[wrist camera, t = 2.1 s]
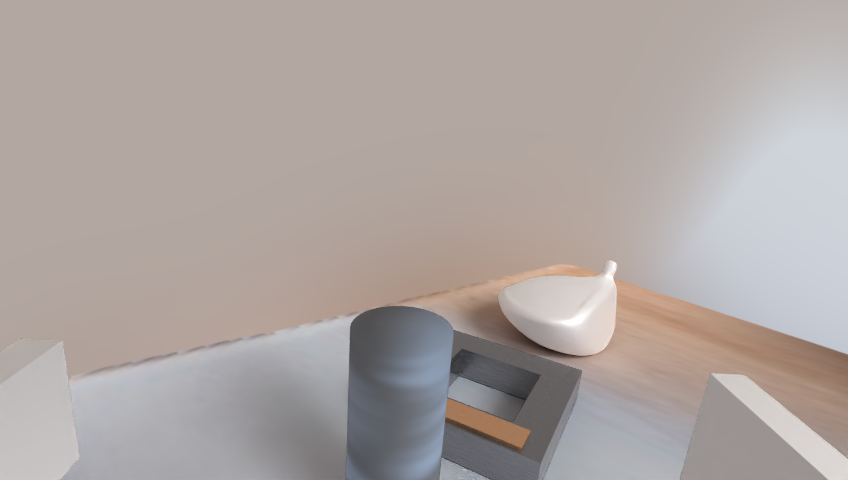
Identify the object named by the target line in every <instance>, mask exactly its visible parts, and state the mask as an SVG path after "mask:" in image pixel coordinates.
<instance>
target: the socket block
mask: <svg viewBox="0 0 848 480" xmlns="http://www.w3.org/2000/svg"><path fill="white" fill-rule="evenodd" d="M453 332H454V335H453V345H452V355H451V365H450V375H449V385H448V387H449V386H450V385H451V384H452V383H453V382H454V381H455V380H456V378H457V377H458V376H461V377H464V378H467V379H470V380H473V381H475V382H478V383H481V384H484V385H486V386H489V387H492V388H495V389H497V390H500V391H503V392H506V393H508V394H511V395H514V396H517V397H519V398H522V399H525V400H526V401H525V403H524V405H523V406H522V408H521V410H520V411H519V413H518V415H517V416H516V418H515V420H514V421H513V423H512V422H510V421H507V420H505V419H502V418H500V417H497V416H494V415H492V414H489V413H487V412H484V411H482V410H479V409H476V408H474V407H471V406H469V405H466V404H464V403H461V402H458V401H456V400H453V399H451V398H448V397H447V405H446V415H445V425H444V435H443V445H442V455H441V457H443V458H446V459H448V460H450V461H452V462H454V463H457V464H459V465H461V466H463V467H465V468H468V469H470V470H472V471H474V472H476V473H479V474H481V475H483V476H485V477H487V478H490V479H492V480H543V478H544V475H545V473H546V471H547V468H548V466H549V463H550V461H551V459H552V456H553V454H554V452H555V449H556V447H557V444H558V442H559V440H560V437H561V435H562V433H563V430H564V428H565V425H566V423H567V421H568V418H569V416H570V413H571V411H572V409H573V406H574V404H575V402H576V399H577V395H578V390H579V384H580V379H581V374H582V370H579V369H575V368H572V367H569V366H566V365H563V364H560V363H557V362H553V361H550V360H547V359H544V358H541V357H538V356H534V355H531V354H528V353H525V352H522V351H519V350H515V349H512V348H509V347H506V346H503V345H500V344H497V343H493V342H490V341H487V340H484V339H481V338H478V337H474V336H471V335H468V334H465V333H462V332H459V331H456V330H453Z"/></svg>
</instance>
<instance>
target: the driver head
mask: <svg viewBox="0 0 848 480" xmlns="http://www.w3.org/2000/svg"><path fill="white" fill-rule="evenodd" d="M616 269H617V264H616V263H615V262H614V261H610V260H608V261H606V262H605V265H604V269H603V271H602V273H601V274H599V275H597V276H593V277H574V276H565V275H557V276H542V277H535V278H530V279H526V280H524V281H521V282H519V283H516V284H513V285H510V286H507V287H505V288H504V289H503V290H502V291H501V292H500V293H499V295H498V300H499V305H500V308H501V310H502V312H503V313H504V315H505V316H506V318H507V319H508V320H509V321H510V322H511V323H512V324H513V325H514V326H515V327H516V328H517V329H518V330H519V331H520V332H521V333H523V334H524V335H525V336H526V337H528V338H529V339H531V340H532V341H534V342H536V343H537V344H539V345H542V346H544V347H546V348H549V349H552V350H555V351H558V352H562V353H566V354H571V355H577V356H588V355H594V354H596V353H599V352H601V351H602V350H603V349H604V348H605V347H606V346H607V345H608V343H609V341H610V340H611V337H612V335H613V332H614V329H615V314H616V303H617V288H616V285H615V283H614V274H615V272H616Z"/></svg>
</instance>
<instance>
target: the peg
mask: <svg viewBox="0 0 848 480" xmlns="http://www.w3.org/2000/svg"><path fill="white" fill-rule="evenodd" d="M453 335H454V332H453V328H452V326H451V324H450V323H449V322H448V321H447V320H445V319H444V318H443V317H441V316H439V315H437V314H435V313H433V312H430V311H427V310H424V309H420V308H414V307H406V306H389V307H381V308H376V309H372V310H369V311H366V312H364V313H362V314H360V315H359V316H357V317H356V318H355V319H354V320H353V322H352V323H351V326H350V355H349V389H348V423H347V457H346V480H439V475H440V465H441V455H442V445H443V435H444V425H445V415H446V405H447V395H448V385H449V375H450V365H451V355H452V345H453Z"/></svg>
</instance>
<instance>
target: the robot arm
mask: <svg viewBox="0 0 848 480" xmlns="http://www.w3.org/2000/svg"><path fill="white" fill-rule="evenodd" d="M79 458H80V453H79V447H78V440H77V433H76V427H75V420H74V413H73V407H72V400H71V393H70V387H69V380H68V373H67V367H66V360H65V354H64V347H63V341H62V340H49V339H28V338H21V339H19V340H17V341H16V342H14V343H13V344H11V345H9V346H8V347H6V348H5V349H3V350H2V351H0V480H60V479H61V478H62V477H63V476H64V475H65V474H66V473H67V471H68V470H69V469H70V468H71V467H72V466H73V465H74V464H75V463H76V461H77V460H78V459H79ZM680 480H848V459H847V458H846V457H845V456H843V455H842V454H841V453H840V452H839V451H837V450H836V449H835V448H834V447H832V446H831V445H830V444H829V443H828V442H826V441H825V440H824V439H823V438H821V437H820V436H819V435H818V434H817V433H815V432H814V431H813V430H812V429H810V428H809V427H808V426H807V425H805V424H804V423H803V422H802V421H801V420H799V419H798V418H797V417H796V416H794V415H793V414H792V413H791V412H790V411H788V410H787V409H786V408H785V407H783V406H782V405H781V404H780V403H779V402H777V401H776V400H775V399H774V398H772V397H771V396H770V395H769V394H767V393H766V392H765V391H764V390H763V389H761V388H760V387H759V386H758V385H756V384H755V383H754V382H753V381H752V380H750V379H749V378H748V377H747V376H745V375H734V374H715V373H710V376H709V379H708V383H707V386H706V390H705V393H704V397H703V400H702V404H701V407H700V411H699V414H698V418H697V421H696V425H695V428H694V432H693V435H692V438H691V442H690V445H689V449H688V452H687V456H686V459H685V463H684V466H683V470H682V473H681V477H680Z"/></svg>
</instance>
